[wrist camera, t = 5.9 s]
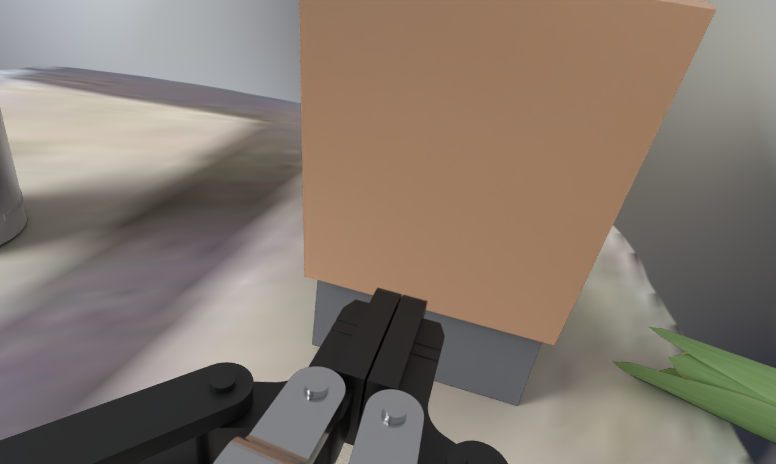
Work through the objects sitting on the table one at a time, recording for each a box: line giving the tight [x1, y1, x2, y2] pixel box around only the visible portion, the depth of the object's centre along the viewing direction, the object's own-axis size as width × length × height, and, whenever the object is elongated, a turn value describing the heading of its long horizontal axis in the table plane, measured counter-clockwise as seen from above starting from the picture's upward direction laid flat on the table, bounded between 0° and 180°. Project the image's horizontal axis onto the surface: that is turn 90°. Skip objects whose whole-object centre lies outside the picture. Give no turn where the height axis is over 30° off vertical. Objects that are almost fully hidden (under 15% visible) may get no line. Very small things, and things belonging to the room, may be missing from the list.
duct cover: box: [299, 0, 716, 345], centre depth 22 cm, size 14×16×1 cm
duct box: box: [312, 280, 542, 405], centre depth 36 cm, size 13×16×6 cm
